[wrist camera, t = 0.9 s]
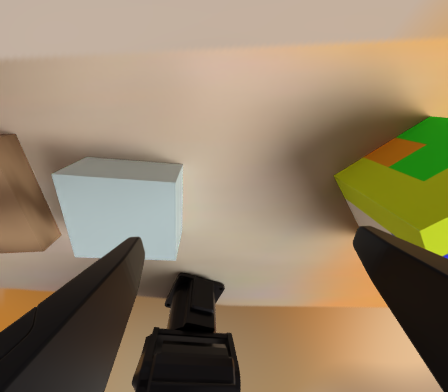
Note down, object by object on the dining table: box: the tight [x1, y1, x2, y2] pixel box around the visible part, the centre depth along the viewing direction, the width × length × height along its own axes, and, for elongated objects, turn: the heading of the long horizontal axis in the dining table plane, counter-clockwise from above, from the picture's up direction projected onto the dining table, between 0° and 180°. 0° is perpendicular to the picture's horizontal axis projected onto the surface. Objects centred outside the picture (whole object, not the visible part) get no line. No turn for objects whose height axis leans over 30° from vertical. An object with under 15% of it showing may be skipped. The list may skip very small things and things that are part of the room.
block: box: [51, 157, 183, 261], centre depth 19 cm, size 8×9×5 cm
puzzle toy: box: [334, 116, 448, 259], centre depth 18 cm, size 10×10×10 cm
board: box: [0, 134, 61, 253], centre depth 19 cm, size 11×5×3 cm, turn 0°
